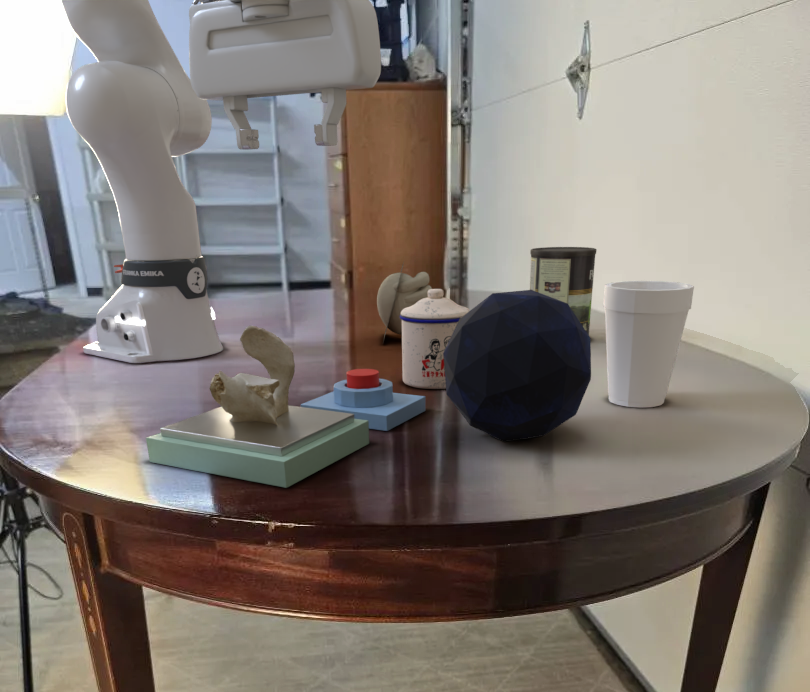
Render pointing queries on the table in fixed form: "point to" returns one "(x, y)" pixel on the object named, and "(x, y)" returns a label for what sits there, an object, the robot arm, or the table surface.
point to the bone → (257, 380)
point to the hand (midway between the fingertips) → (286, 147)
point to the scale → (260, 444)
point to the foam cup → (643, 338)
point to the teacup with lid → (428, 339)
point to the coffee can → (565, 277)
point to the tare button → (362, 378)
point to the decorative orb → (518, 365)
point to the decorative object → (400, 297)
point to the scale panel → (371, 404)
